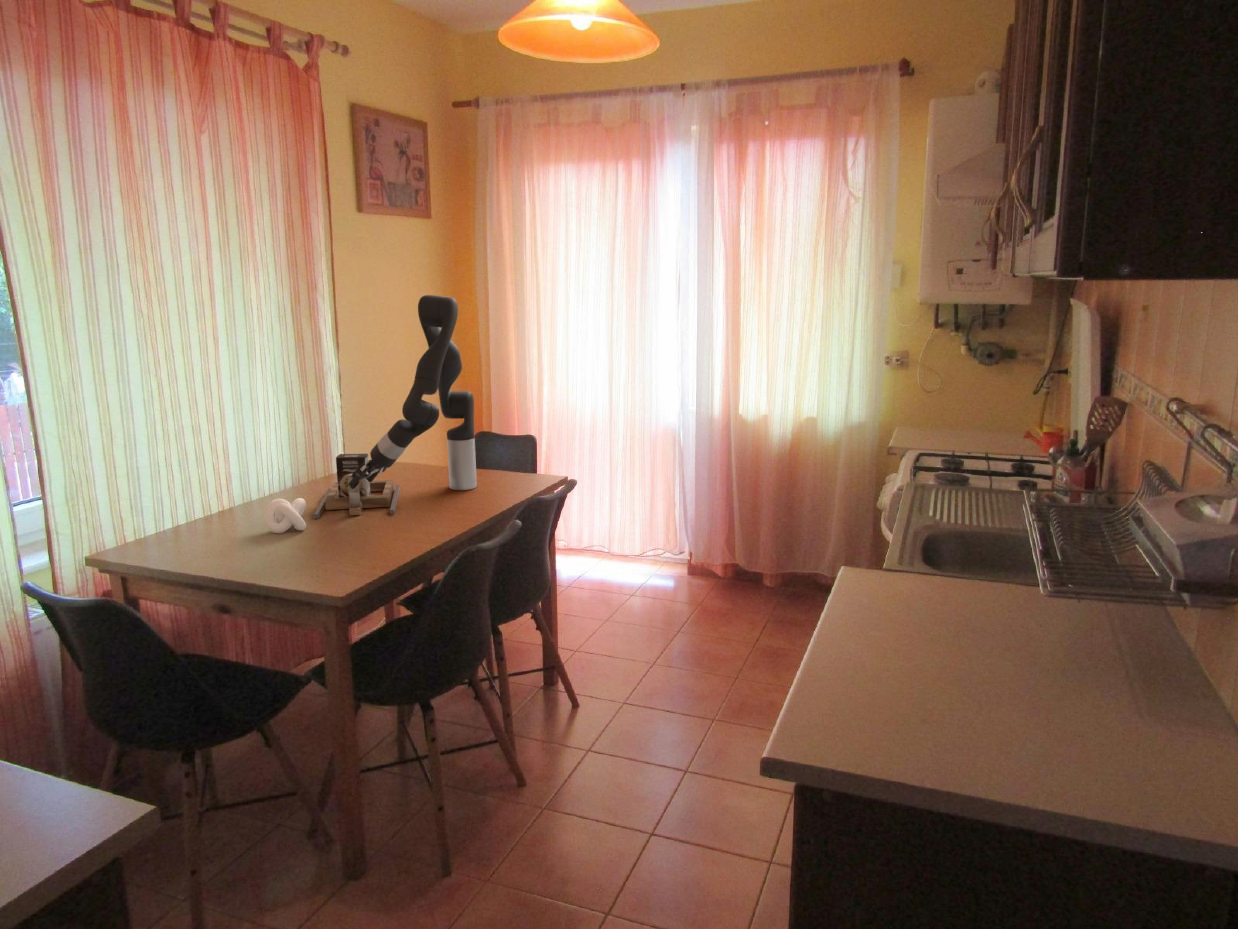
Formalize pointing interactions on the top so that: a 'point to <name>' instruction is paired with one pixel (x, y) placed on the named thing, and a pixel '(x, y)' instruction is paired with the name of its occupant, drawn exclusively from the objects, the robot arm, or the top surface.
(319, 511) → the guide rails
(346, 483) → the coffee box
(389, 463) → the robot arm
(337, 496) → the frame
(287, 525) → the white knot sculpture
